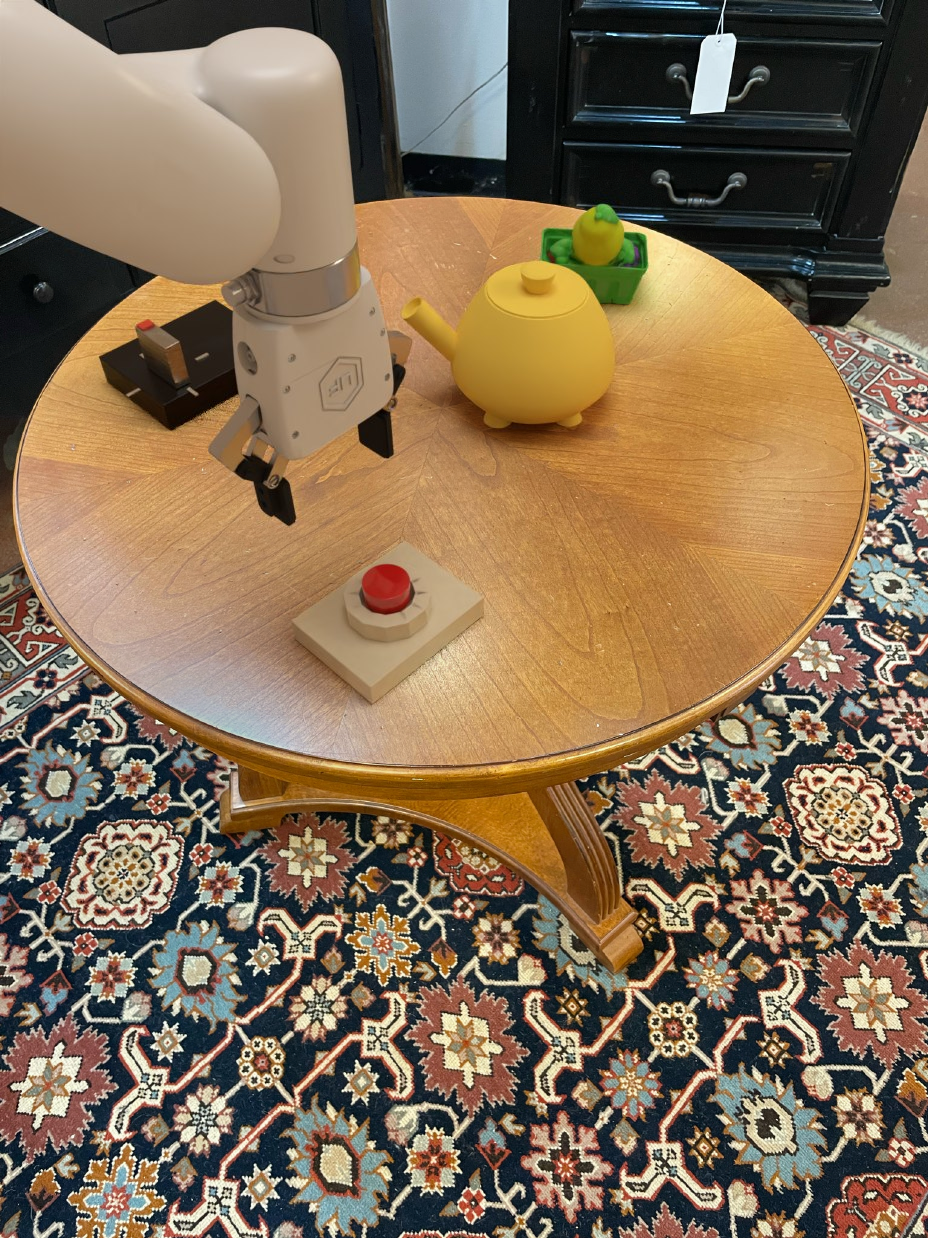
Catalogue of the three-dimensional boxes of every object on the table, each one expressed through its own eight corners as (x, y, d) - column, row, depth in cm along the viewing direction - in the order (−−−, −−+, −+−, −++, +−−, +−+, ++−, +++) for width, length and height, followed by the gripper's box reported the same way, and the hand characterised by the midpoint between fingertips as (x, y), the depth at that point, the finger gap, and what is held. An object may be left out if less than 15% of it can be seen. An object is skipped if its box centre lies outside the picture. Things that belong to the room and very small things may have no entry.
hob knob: (190, 382, 90) (179, 338, 87) (176, 389, 90) (164, 346, 86) (160, 360, 93) (148, 316, 89) (146, 367, 92) (133, 323, 88)
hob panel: (163, 443, 89) (155, 416, 87) (93, 388, 95) (83, 361, 92) (293, 371, 96) (288, 344, 94) (220, 324, 102) (214, 297, 99)
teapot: (405, 450, 89) (396, 320, 78) (406, 352, 99) (399, 224, 88) (619, 446, 89) (640, 316, 78) (599, 348, 99) (615, 221, 88)
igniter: (372, 704, 70) (368, 672, 67) (294, 638, 74) (287, 605, 71) (484, 615, 76) (484, 581, 73) (405, 557, 80) (403, 523, 77)
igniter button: (386, 622, 71) (384, 607, 69) (353, 597, 72) (351, 581, 71) (420, 596, 72) (420, 580, 71) (388, 571, 74) (387, 556, 73)
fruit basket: (640, 274, 108) (655, 174, 100) (642, 318, 103) (659, 217, 94) (539, 269, 109) (545, 170, 100) (536, 313, 103) (542, 212, 94)
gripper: (222, 356, 52) (272, 570, 65) (441, 235, 60) (446, 447, 73) (141, 304, 55) (204, 518, 68) (359, 196, 63) (378, 405, 76)
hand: (329, 481), depth 71 cm, fingers open, 9 cm apart
